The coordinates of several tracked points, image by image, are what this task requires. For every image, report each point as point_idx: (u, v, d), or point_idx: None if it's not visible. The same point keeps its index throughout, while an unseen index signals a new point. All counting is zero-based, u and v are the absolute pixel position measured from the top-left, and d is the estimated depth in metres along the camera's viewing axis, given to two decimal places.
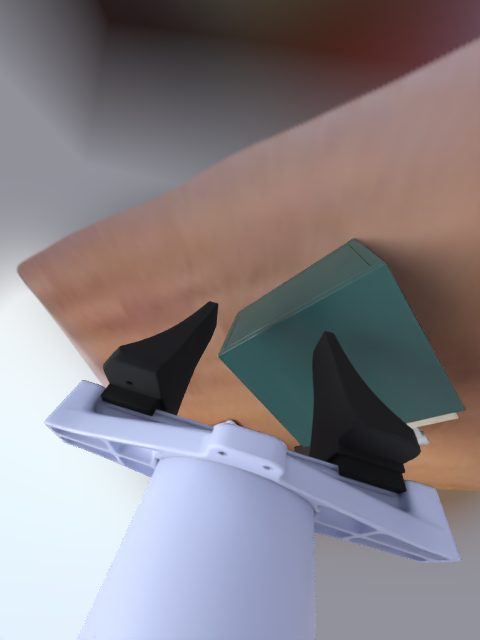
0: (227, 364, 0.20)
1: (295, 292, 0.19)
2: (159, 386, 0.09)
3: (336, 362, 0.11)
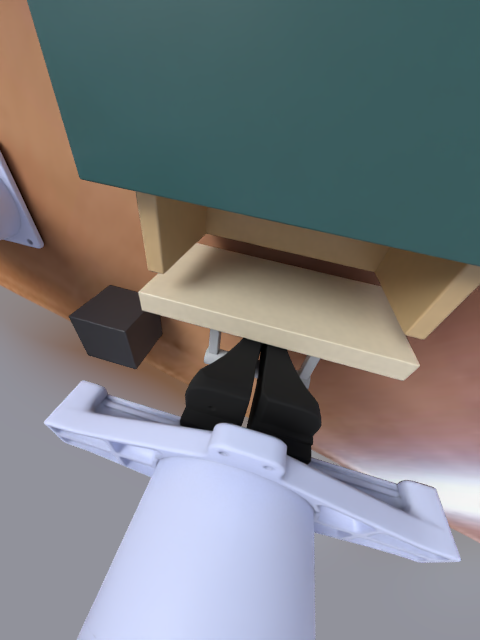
0: None
1: None
2: (245, 412, 0.08)
3: None
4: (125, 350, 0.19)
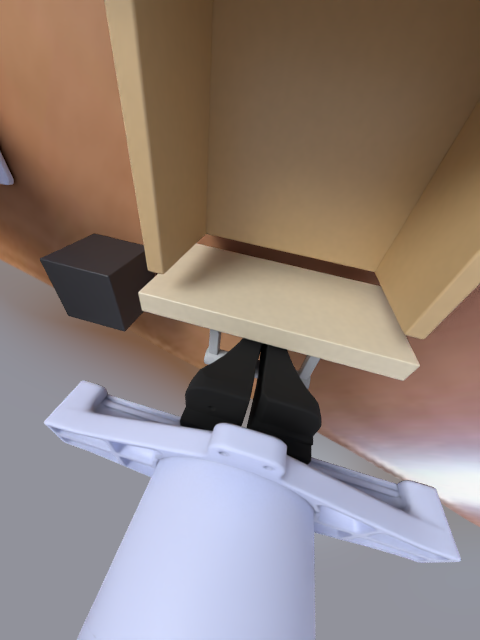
0: None
1: None
2: (245, 412, 0.08)
3: None
4: (110, 303, 0.16)
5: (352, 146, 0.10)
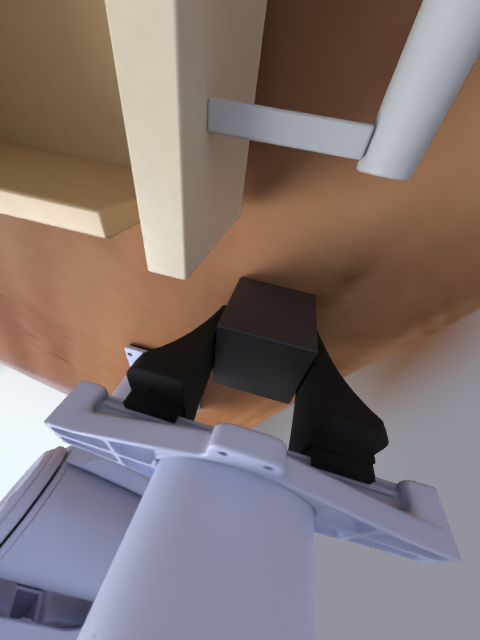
0: None
1: None
2: (183, 393, 0.09)
3: None
4: (261, 345, 0.11)
5: None
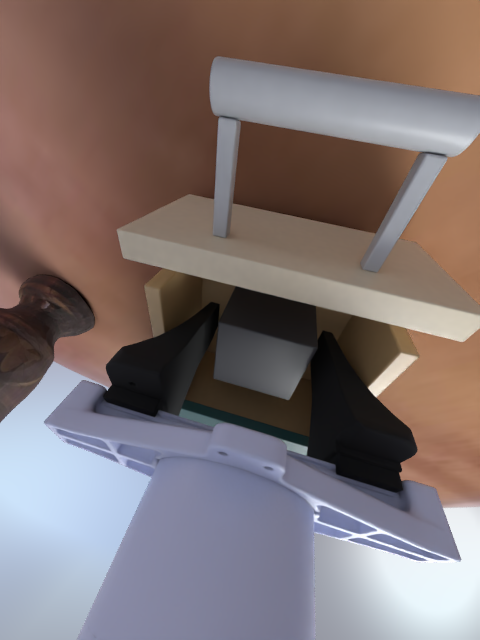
0: None
1: None
2: (162, 387, 0.09)
3: (334, 361, 0.11)
4: (262, 341, 0.11)
5: None
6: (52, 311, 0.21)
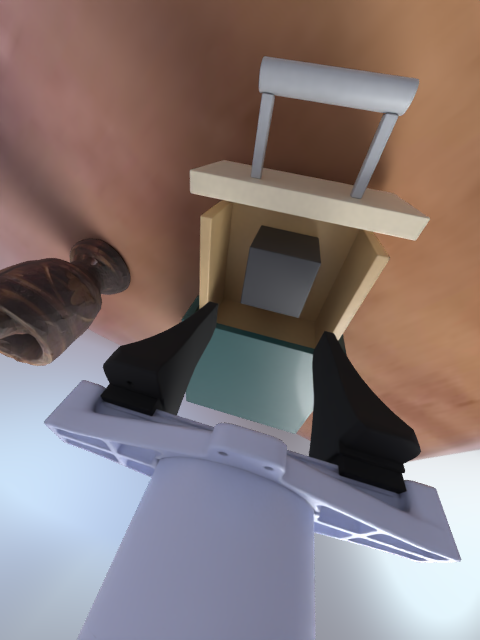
0: (297, 429, 0.27)
1: None
2: (159, 386, 0.09)
3: (336, 362, 0.11)
4: (281, 261, 0.15)
5: None
6: (99, 268, 0.25)
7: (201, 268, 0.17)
